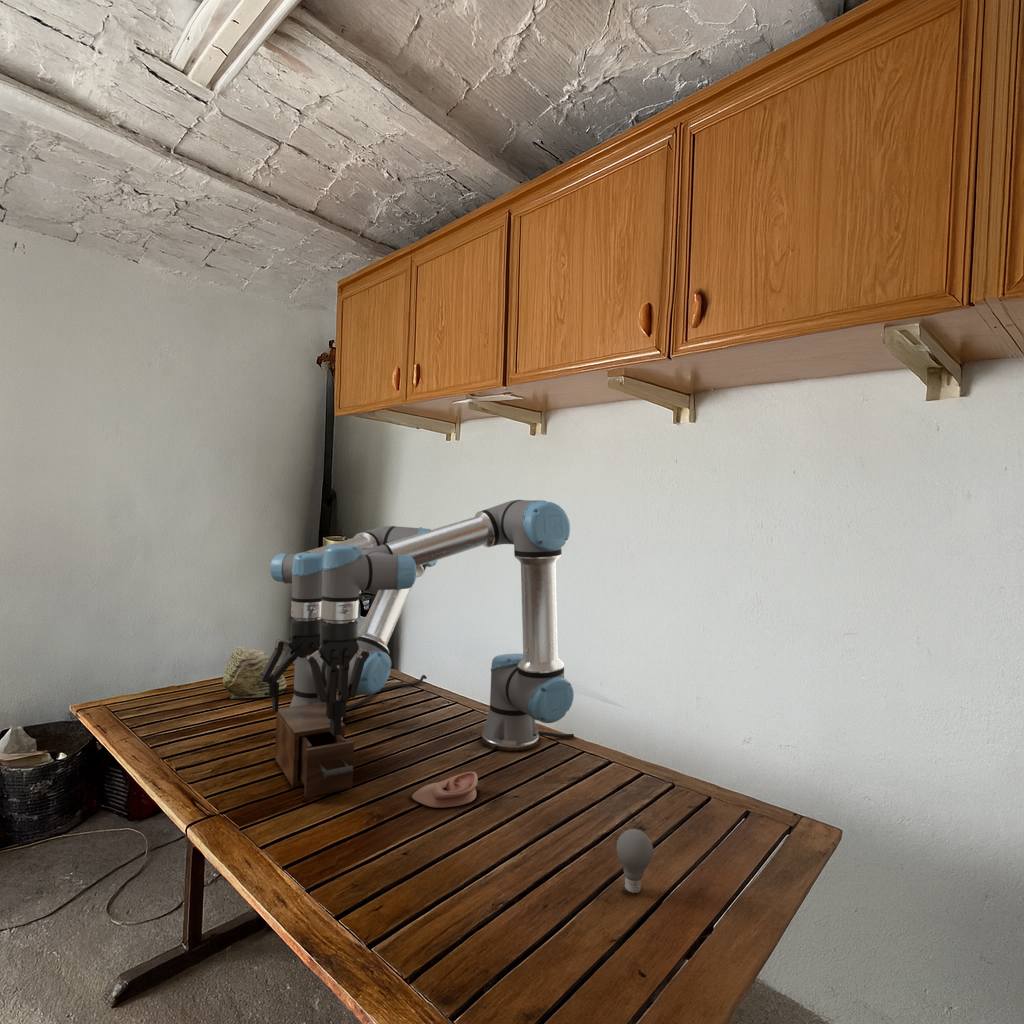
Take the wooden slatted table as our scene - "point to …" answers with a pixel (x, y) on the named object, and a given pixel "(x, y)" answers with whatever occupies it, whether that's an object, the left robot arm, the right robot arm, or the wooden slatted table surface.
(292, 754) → the cabinet
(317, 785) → the drawer
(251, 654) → the fossil
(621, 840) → the light bulb
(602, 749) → the wooden slatted table surface
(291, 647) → the left robot arm
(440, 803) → the anatomical model
